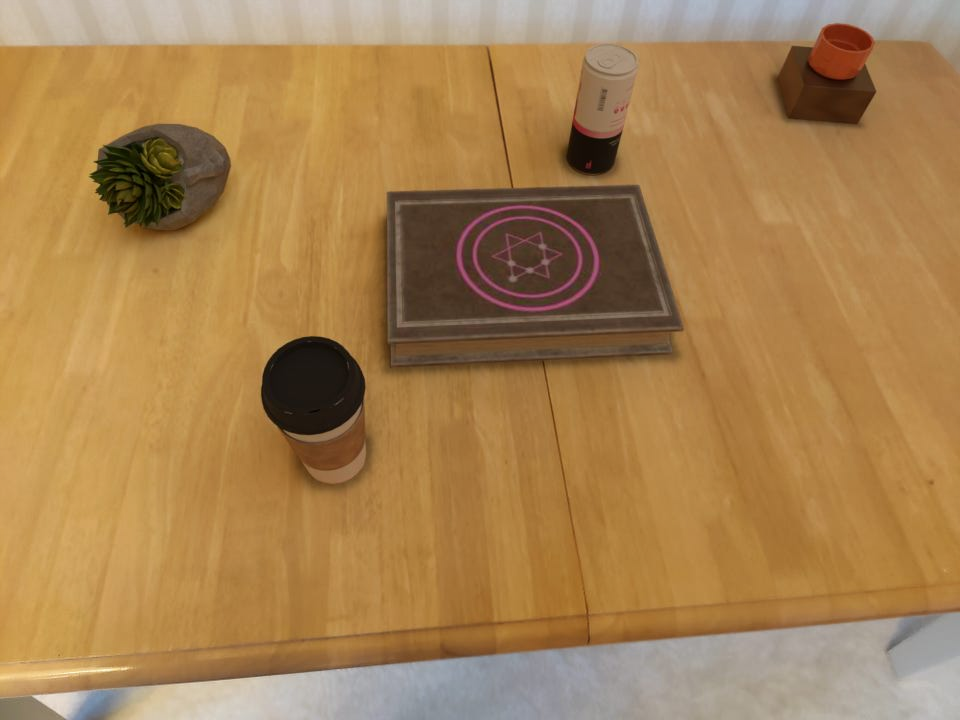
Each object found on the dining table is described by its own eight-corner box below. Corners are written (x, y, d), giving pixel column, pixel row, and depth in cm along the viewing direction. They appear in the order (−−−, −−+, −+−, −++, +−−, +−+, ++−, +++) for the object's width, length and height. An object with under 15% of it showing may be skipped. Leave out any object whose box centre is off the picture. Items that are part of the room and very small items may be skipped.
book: (391, 368, 71) (387, 341, 67) (389, 219, 83) (386, 188, 79) (671, 355, 73) (684, 327, 69) (629, 211, 85) (638, 181, 81)
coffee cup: (297, 506, 62) (258, 430, 50) (287, 428, 66) (249, 340, 54) (386, 485, 63) (370, 405, 51) (370, 410, 68) (352, 320, 56)
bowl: (851, 55, 97) (867, 25, 94) (863, 84, 93) (880, 54, 90) (802, 51, 98) (816, 21, 94) (811, 80, 94) (826, 50, 90)
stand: (842, 84, 103) (860, 50, 98) (856, 125, 97) (876, 91, 93) (776, 79, 103) (791, 45, 98) (787, 119, 97) (804, 85, 93)
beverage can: (556, 159, 91) (572, 56, 78) (586, 138, 93) (607, 35, 81) (593, 184, 88) (616, 81, 76) (623, 161, 91) (651, 59, 78)
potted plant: (257, 170, 82) (192, 228, 71) (196, 217, 89) (128, 276, 77) (182, 84, 77) (100, 131, 66) (124, 140, 84) (40, 192, 72)
